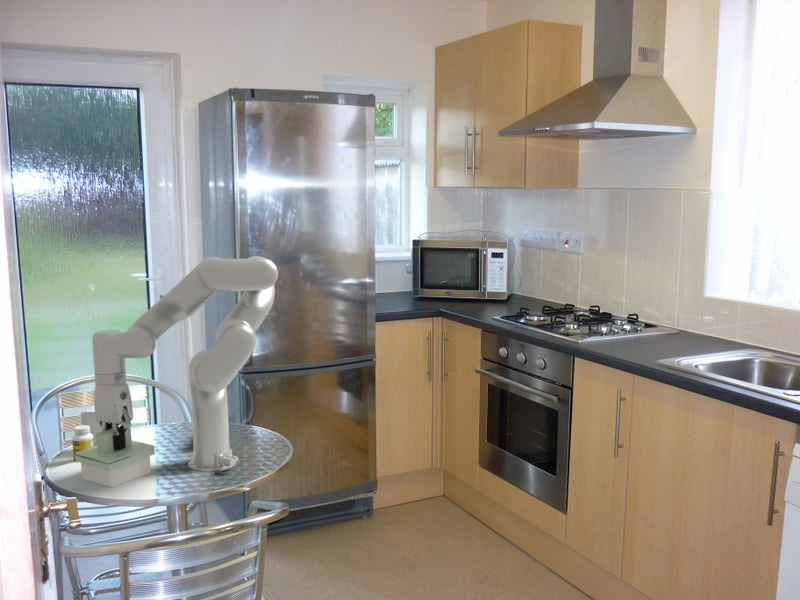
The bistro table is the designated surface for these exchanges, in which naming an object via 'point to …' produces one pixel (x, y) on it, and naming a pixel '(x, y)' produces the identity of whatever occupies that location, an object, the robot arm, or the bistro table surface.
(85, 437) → the supplement bottle
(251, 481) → the bistro table surface
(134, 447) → the lid
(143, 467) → the storage box
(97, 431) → the supplement box
